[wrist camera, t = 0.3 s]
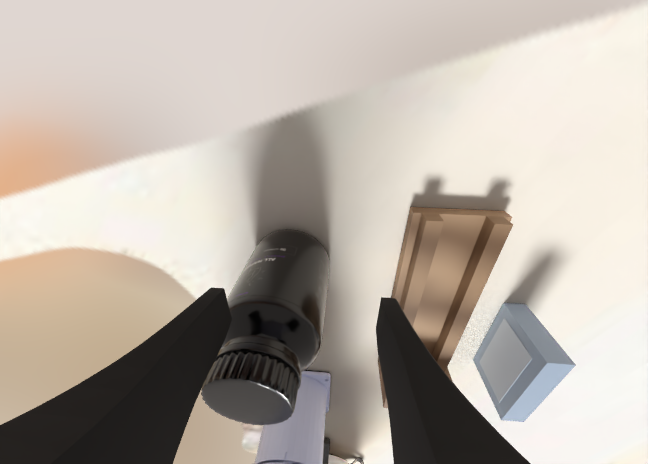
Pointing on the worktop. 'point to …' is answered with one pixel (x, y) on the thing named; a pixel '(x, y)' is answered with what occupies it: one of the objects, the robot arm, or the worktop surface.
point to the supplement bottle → (271, 330)
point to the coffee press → (331, 461)
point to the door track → (445, 273)
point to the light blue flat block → (520, 362)
